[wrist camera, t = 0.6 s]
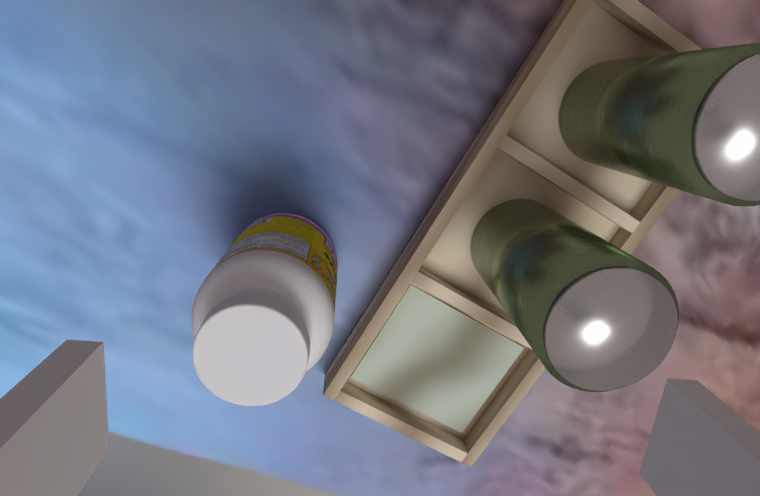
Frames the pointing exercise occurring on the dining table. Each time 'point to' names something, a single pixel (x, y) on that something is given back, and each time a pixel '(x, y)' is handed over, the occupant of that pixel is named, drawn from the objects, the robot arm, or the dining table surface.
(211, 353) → the supplement bottle
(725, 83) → the can
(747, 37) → the dining table surface
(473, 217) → the caddy
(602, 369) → the can
